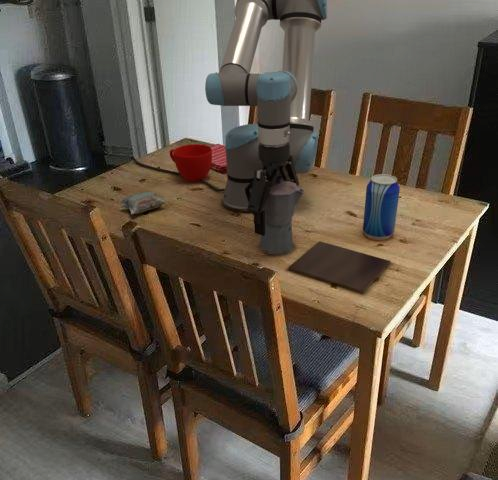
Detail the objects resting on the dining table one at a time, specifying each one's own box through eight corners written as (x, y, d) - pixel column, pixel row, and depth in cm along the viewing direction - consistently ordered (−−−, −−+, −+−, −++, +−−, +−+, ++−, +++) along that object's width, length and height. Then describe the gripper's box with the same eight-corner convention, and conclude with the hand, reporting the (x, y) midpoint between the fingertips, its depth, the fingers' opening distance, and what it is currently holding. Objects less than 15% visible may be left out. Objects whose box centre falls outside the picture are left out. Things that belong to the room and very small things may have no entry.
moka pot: (301, 258, 138) (303, 185, 127) (242, 254, 141) (239, 182, 130) (305, 240, 146) (307, 170, 135) (250, 237, 149) (247, 167, 138)
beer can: (387, 244, 143) (394, 187, 134) (357, 237, 147) (362, 181, 138) (398, 231, 149) (405, 176, 140) (369, 224, 153) (374, 170, 144)
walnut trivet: (288, 270, 134) (288, 267, 133) (319, 243, 144) (319, 241, 144) (362, 294, 124) (362, 291, 123) (390, 263, 135) (390, 260, 134)
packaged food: (167, 209, 166) (165, 194, 163) (132, 220, 160) (129, 204, 158) (154, 200, 172) (152, 186, 169) (120, 211, 166) (117, 196, 164)
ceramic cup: (184, 167, 196) (182, 140, 191) (221, 176, 187) (219, 147, 182) (160, 178, 187) (156, 150, 182) (197, 188, 179) (194, 159, 173)
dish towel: (224, 174, 189) (223, 167, 187) (184, 158, 204) (183, 151, 202) (260, 161, 198) (260, 154, 196) (219, 147, 213) (219, 140, 211)
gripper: (257, 161, 118) (259, 247, 129) (313, 131, 135) (311, 209, 146) (229, 155, 121) (234, 239, 133) (288, 127, 138) (287, 203, 150)
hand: (274, 223), depth 140 cm, fingers open, 13 cm apart
